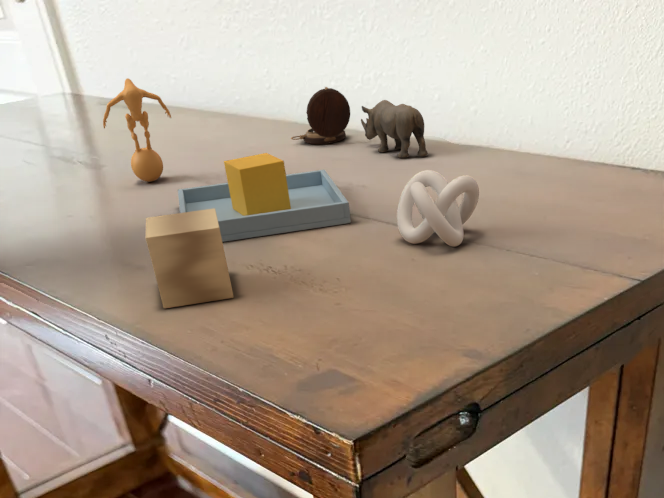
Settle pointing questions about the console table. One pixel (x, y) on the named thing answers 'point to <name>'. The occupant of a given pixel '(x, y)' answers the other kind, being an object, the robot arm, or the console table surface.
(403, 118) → the rhino figurine
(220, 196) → the tray
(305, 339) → the console table surface
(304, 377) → the console table surface
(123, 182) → the console table surface
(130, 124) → the figurine
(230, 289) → the base block
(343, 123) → the compass
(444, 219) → the knot
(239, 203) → the top block
